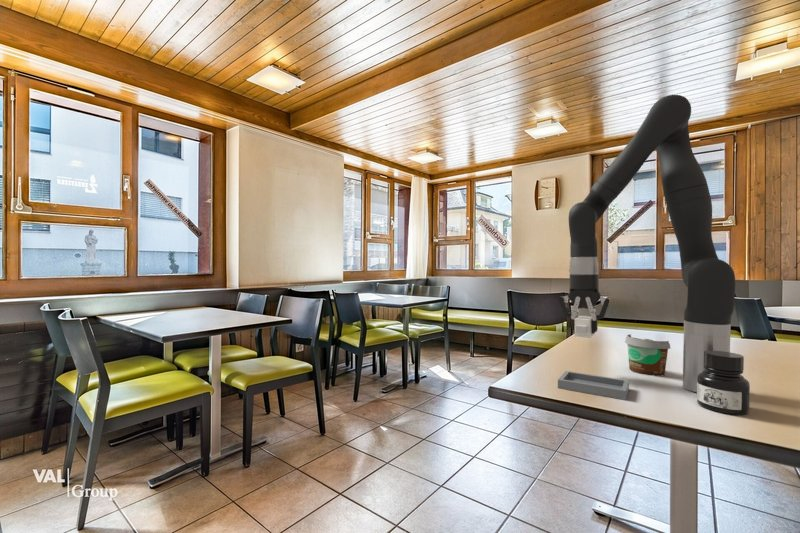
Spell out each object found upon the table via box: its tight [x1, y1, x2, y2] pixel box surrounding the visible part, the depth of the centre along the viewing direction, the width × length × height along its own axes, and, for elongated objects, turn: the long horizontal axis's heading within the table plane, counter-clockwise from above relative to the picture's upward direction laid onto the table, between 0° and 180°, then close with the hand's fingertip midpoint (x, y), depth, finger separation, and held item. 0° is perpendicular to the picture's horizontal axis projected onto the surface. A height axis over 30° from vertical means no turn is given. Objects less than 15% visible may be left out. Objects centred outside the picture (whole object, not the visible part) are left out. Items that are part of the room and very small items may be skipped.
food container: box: [624, 333, 672, 377], centre depth 114 cm, size 12×6×10 cm, turn 25°
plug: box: [574, 315, 595, 339], centre depth 111 cm, size 4×9×5 cm, turn 146°
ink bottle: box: [696, 351, 751, 415], centre depth 86 cm, size 10×9×12 cm
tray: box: [557, 370, 630, 401], centre depth 98 cm, size 15×10×2 cm, turn 56°
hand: (584, 332), depth 112 cm, fingers closed on plug, 4 cm apart
